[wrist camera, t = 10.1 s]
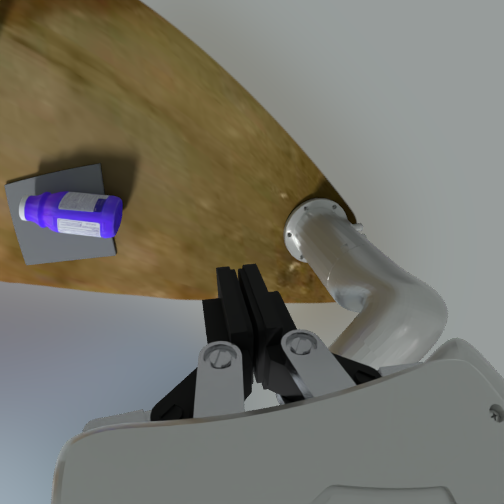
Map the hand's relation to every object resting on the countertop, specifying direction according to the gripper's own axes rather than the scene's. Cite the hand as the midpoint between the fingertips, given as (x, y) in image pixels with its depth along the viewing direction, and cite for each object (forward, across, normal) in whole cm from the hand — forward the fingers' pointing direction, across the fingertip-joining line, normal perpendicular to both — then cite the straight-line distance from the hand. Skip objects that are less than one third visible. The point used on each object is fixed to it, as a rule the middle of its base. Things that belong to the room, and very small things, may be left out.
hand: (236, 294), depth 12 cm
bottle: (+31, +13, +7) cm, 34 cm away
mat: (+35, +26, +7) cm, 44 cm away
